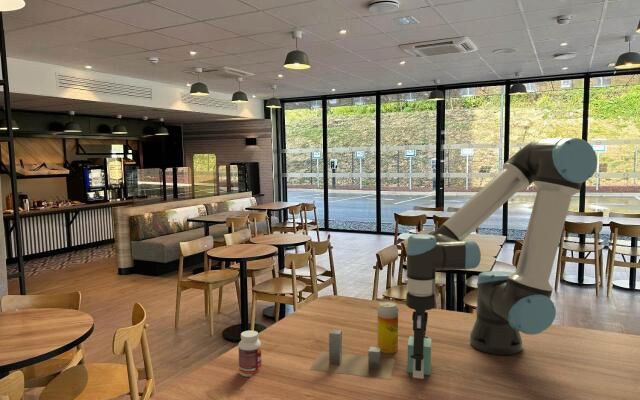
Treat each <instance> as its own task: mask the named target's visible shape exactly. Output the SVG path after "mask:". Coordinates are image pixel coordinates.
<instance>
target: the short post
mask: <svg viewBox="0 0 640 400" xmlns="http://www.w3.org/2000/svg"><path fill="white" fill-rule="evenodd" d="M381 355H382V352H381V348H379V347H376V346H369V349H368V354H367V356H368V369H376V370H379V369H380V366H381V358H382V357H381Z"/></svg>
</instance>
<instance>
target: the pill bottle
mask: <svg viewBox="0 0 640 400" xmlns="http://www.w3.org/2000/svg"><path fill="white" fill-rule="evenodd" d="M240 339H241V340H240V341H239V342H238V345H237V346H238V372H239V374H240V375H241V376H242V377H246V378H249V377H252V376H253V375H254V374H255V373H258V372H260V371H261V369H262V343H261V340H260V339H259V332H258V331H256V330H245V331H242V332H241V333H240Z"/></svg>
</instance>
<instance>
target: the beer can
mask: <svg viewBox="0 0 640 400" xmlns="http://www.w3.org/2000/svg"><path fill="white" fill-rule="evenodd" d="M376 325H377V329H376V330H377V332H376V335H377V337H376V338H377V341H376V344H377V345H376V346H377V347H379V348H381V353H383V354H394V353H396V352H397V351H398V350H399V348H398V347H399V345H398V344H399V307H398V304H397V303H396V302H395V301H391V300H389V301H388V300H386V301H385V300H384V301H380V302H378V306H377V324H376Z"/></svg>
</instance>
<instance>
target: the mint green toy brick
mask: <svg viewBox="0 0 640 400" xmlns="http://www.w3.org/2000/svg"><path fill="white" fill-rule="evenodd" d="M407 342H408V343H407V362H406V363H407V365H406V366H407V371H406V372H407V373H411V374H413V358H411V355H413V348H414V336H411V335H410V336H409V338H408V341H407ZM423 356H424V375H429V376H430V375H431V369H432V338H430V337H428V338H424V349H423Z"/></svg>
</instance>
